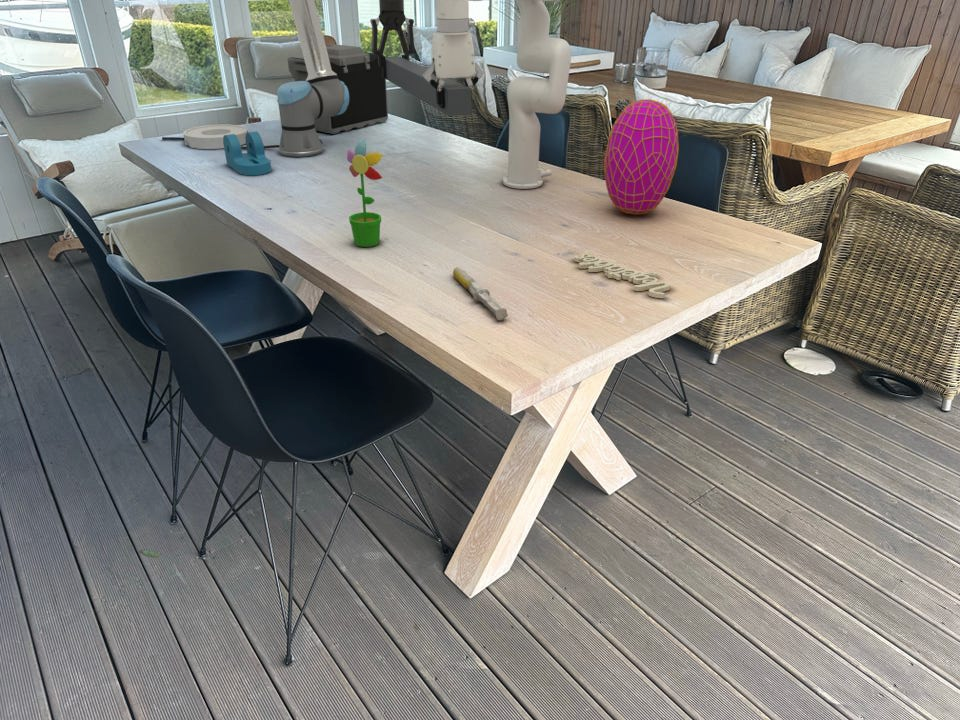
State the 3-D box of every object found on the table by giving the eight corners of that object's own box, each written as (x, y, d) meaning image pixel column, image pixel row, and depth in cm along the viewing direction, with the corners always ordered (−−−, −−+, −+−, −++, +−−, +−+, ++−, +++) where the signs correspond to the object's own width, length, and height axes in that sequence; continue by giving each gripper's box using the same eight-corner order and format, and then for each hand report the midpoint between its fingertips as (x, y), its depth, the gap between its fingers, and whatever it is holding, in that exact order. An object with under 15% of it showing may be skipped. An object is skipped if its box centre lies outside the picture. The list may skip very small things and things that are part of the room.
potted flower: (390, 240, 173) (384, 138, 160) (373, 250, 166) (366, 145, 154) (358, 234, 176) (350, 134, 163) (341, 244, 170) (331, 141, 157)
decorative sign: (686, 282, 150) (660, 295, 144) (686, 286, 150) (659, 300, 144) (592, 249, 166) (565, 259, 160) (592, 253, 167) (565, 263, 161)
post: (471, 114, 169) (471, 88, 166) (448, 116, 168) (448, 89, 164) (400, 76, 228) (399, 56, 225) (382, 77, 226) (381, 57, 223)
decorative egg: (646, 228, 182) (662, 110, 167) (585, 212, 193) (596, 100, 178) (681, 212, 194) (699, 100, 179) (622, 197, 206) (635, 91, 190)
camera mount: (227, 164, 233) (221, 132, 227) (257, 160, 238) (252, 129, 233) (244, 176, 220) (239, 143, 215) (276, 172, 225) (271, 139, 220)
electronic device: (355, 114, 307) (349, 41, 292) (392, 121, 296) (388, 45, 281) (291, 128, 282) (281, 48, 266) (329, 136, 271) (321, 53, 255)
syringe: (449, 274, 155) (449, 263, 153) (465, 272, 156) (464, 260, 154) (490, 323, 135) (491, 310, 133) (508, 319, 136) (508, 307, 134)
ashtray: (199, 134, 271) (197, 123, 269) (257, 135, 271) (255, 124, 268) (174, 148, 251) (172, 137, 249) (237, 149, 251) (235, 138, 249)
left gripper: (417, -4, 217) (419, 74, 229) (357, -4, 211) (362, 76, 223) (424, -2, 211) (425, 78, 223) (363, -3, 205) (367, 80, 217)
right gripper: (481, 23, 168) (481, 101, 177) (413, 26, 162) (416, 106, 172) (492, 27, 161) (491, 107, 171) (422, 29, 156) (425, 112, 166)
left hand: (394, 77), depth 223 cm, fingers closed on post, 6 cm apart
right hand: (454, 105), depth 171 cm, fingers closed on post, 6 cm apart
